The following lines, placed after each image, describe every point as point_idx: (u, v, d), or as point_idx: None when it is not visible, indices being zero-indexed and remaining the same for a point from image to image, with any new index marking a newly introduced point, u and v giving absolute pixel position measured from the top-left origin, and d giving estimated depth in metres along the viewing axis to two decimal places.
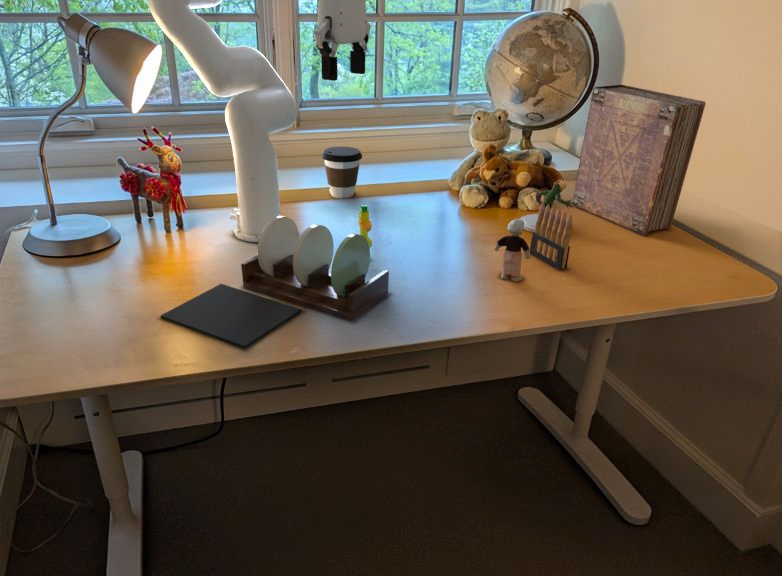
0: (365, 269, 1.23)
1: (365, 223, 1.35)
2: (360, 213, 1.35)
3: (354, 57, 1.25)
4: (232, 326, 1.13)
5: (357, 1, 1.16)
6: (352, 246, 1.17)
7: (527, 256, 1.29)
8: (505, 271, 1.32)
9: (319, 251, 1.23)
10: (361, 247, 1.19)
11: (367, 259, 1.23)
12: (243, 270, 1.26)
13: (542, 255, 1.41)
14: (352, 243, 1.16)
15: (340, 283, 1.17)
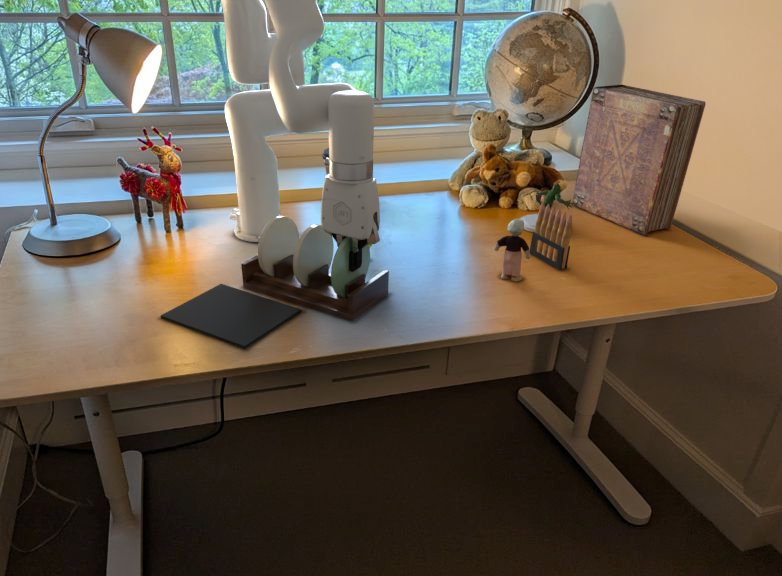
0: (364, 269, 1.23)
1: None
2: None
3: None
4: (232, 326, 1.13)
5: None
6: None
7: (527, 256, 1.29)
8: (505, 271, 1.32)
9: (319, 251, 1.23)
10: None
11: (367, 259, 1.23)
12: (243, 270, 1.26)
13: (542, 255, 1.41)
14: None
15: (340, 283, 1.17)
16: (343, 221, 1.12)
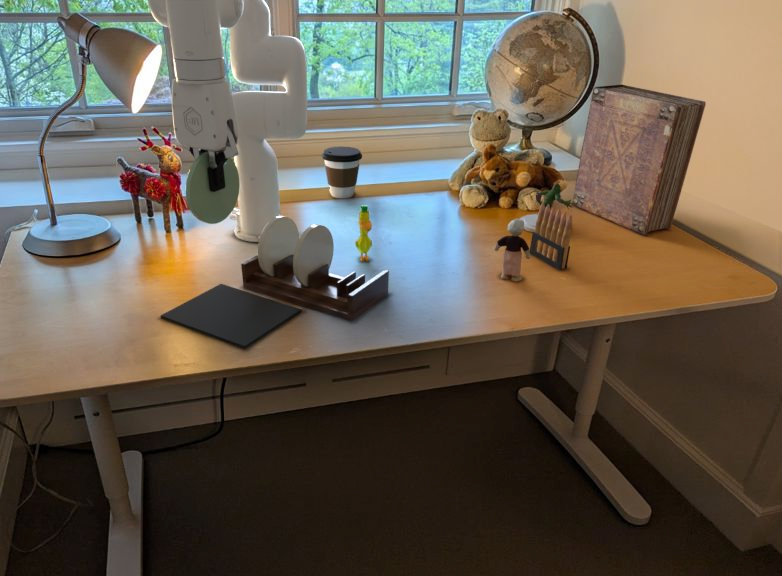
0: (233, 194, 1.12)
1: (365, 223, 1.35)
2: (360, 213, 1.35)
3: None
4: (232, 326, 1.13)
5: None
6: None
7: (527, 256, 1.29)
8: (505, 271, 1.32)
9: (319, 251, 1.23)
10: (224, 167, 1.08)
11: (235, 182, 1.11)
12: (243, 270, 1.26)
13: (542, 255, 1.41)
14: None
15: (198, 205, 1.05)
16: (195, 130, 1.00)
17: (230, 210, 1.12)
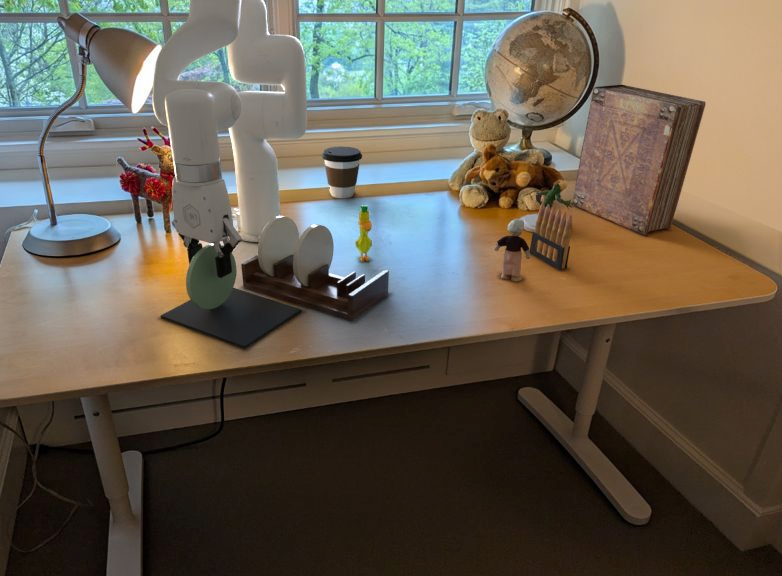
0: (230, 280, 1.20)
1: (365, 223, 1.35)
2: (360, 213, 1.35)
3: (195, 253, 1.15)
4: (232, 326, 1.13)
5: None
6: (210, 256, 1.14)
7: (527, 256, 1.29)
8: (505, 271, 1.32)
9: (319, 251, 1.23)
10: None
11: (232, 270, 1.20)
12: (243, 270, 1.26)
13: (542, 255, 1.41)
14: (210, 253, 1.13)
15: (198, 294, 1.14)
16: (193, 224, 1.08)
17: (227, 295, 1.21)
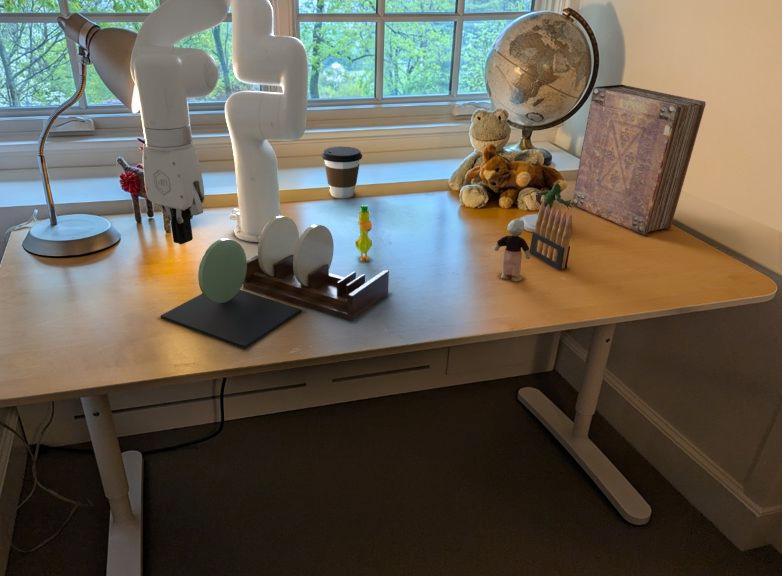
0: (236, 286, 1.22)
1: (365, 223, 1.35)
2: (360, 213, 1.35)
3: None
4: (232, 326, 1.13)
5: None
6: (229, 249, 1.18)
7: (527, 256, 1.29)
8: (505, 271, 1.32)
9: (319, 251, 1.23)
10: (238, 259, 1.20)
11: (241, 277, 1.23)
12: None
13: (542, 255, 1.41)
14: (230, 246, 1.17)
15: (207, 277, 1.15)
16: (164, 191, 1.08)
17: (229, 298, 1.21)
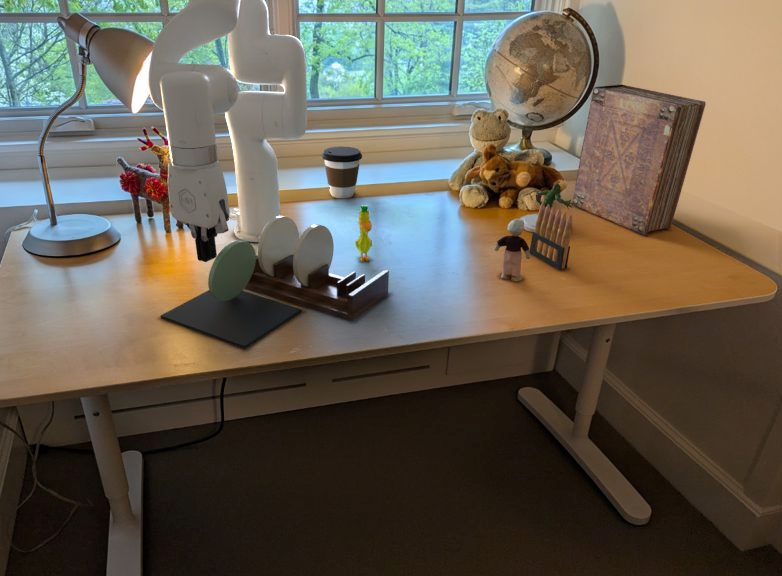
0: (239, 287, 1.23)
1: (365, 223, 1.35)
2: (360, 213, 1.35)
3: None
4: (232, 326, 1.13)
5: None
6: (244, 251, 1.18)
7: (527, 256, 1.29)
8: (505, 271, 1.32)
9: (319, 251, 1.23)
10: (248, 262, 1.21)
11: (246, 280, 1.23)
12: None
13: (542, 255, 1.41)
14: (246, 249, 1.18)
15: (218, 273, 1.15)
16: (189, 209, 1.07)
17: (230, 297, 1.21)
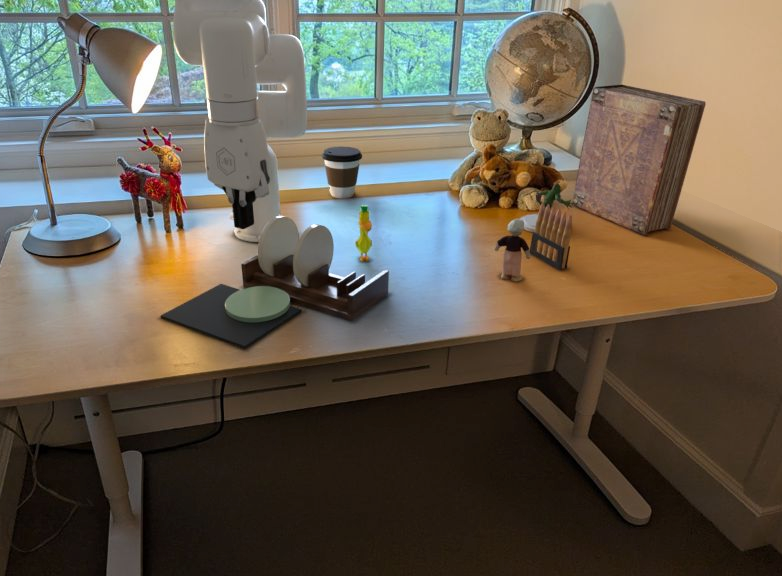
0: None
1: (365, 223, 1.35)
2: (360, 213, 1.35)
3: None
4: (232, 326, 1.13)
5: None
6: None
7: (527, 256, 1.29)
8: (505, 271, 1.32)
9: (319, 251, 1.23)
10: None
11: None
12: (243, 270, 1.26)
13: (542, 255, 1.41)
14: None
15: None
16: (227, 170, 0.99)
17: None
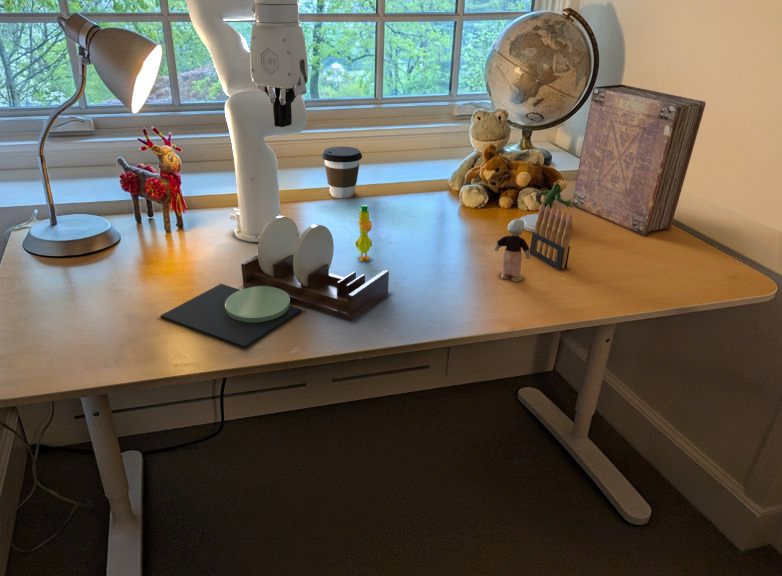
0: None
1: (365, 223, 1.35)
2: (360, 213, 1.35)
3: None
4: (232, 326, 1.13)
5: None
6: None
7: (527, 256, 1.29)
8: (505, 271, 1.32)
9: (319, 251, 1.23)
10: None
11: None
12: (243, 270, 1.26)
13: (542, 255, 1.41)
14: None
15: None
16: (271, 70, 1.13)
17: None
